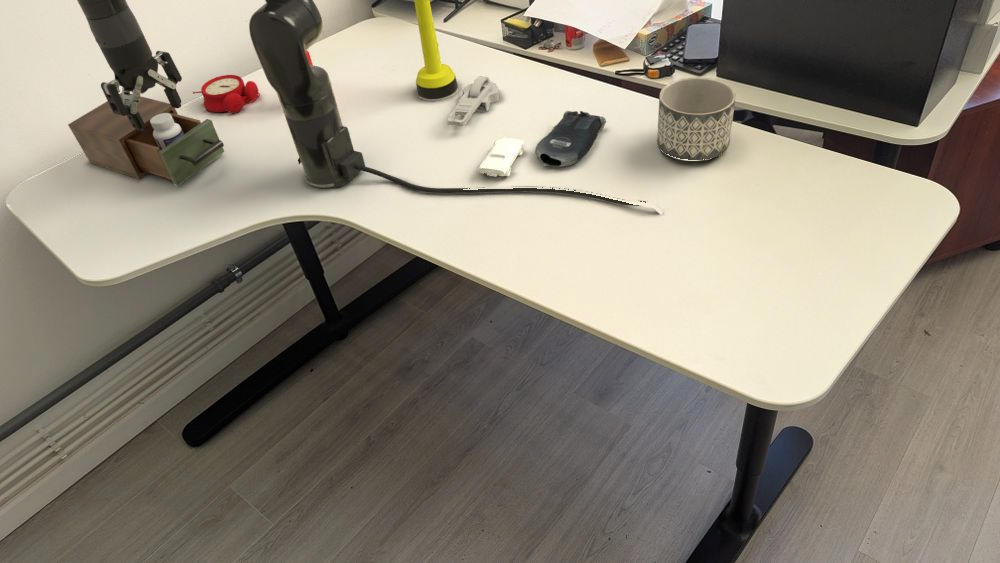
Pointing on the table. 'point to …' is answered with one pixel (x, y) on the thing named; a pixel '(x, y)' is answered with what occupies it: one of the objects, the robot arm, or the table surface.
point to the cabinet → (114, 135)
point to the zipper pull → (474, 100)
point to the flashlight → (432, 60)
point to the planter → (695, 118)
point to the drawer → (176, 149)
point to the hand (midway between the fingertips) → (160, 118)
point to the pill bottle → (165, 130)
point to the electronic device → (570, 139)
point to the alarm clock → (228, 93)
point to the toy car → (501, 157)
